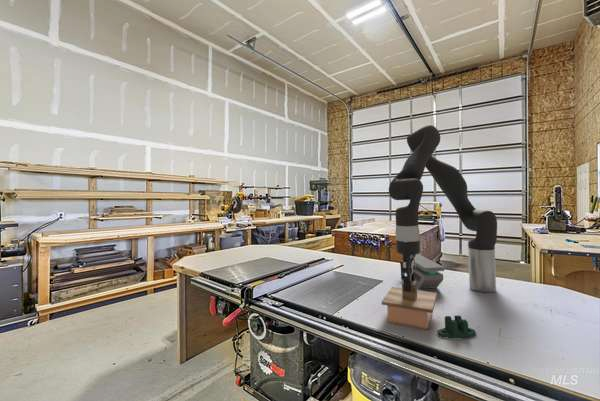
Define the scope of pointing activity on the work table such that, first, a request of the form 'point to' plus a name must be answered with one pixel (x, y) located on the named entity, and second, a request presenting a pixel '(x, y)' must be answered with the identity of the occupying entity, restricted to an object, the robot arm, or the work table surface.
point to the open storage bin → (409, 317)
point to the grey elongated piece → (427, 273)
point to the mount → (456, 328)
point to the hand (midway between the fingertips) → (409, 287)
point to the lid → (410, 298)
